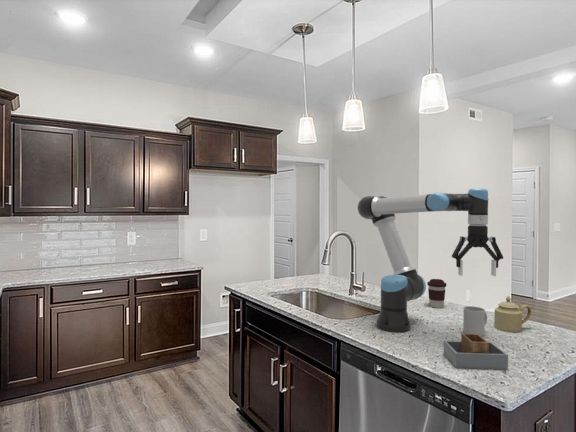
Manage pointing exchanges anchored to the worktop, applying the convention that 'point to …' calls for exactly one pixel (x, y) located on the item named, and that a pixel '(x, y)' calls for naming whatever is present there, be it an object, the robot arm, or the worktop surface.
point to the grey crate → (475, 357)
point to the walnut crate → (474, 344)
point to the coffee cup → (436, 293)
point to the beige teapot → (510, 316)
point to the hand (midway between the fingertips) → (476, 275)
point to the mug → (474, 320)
